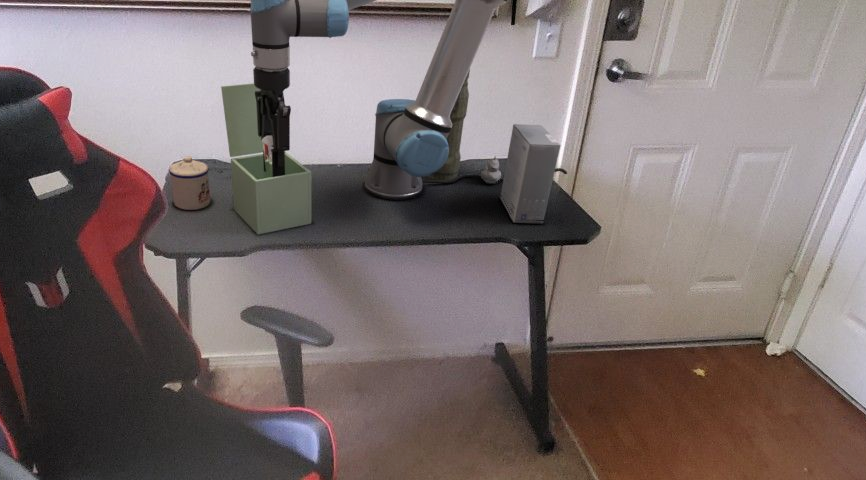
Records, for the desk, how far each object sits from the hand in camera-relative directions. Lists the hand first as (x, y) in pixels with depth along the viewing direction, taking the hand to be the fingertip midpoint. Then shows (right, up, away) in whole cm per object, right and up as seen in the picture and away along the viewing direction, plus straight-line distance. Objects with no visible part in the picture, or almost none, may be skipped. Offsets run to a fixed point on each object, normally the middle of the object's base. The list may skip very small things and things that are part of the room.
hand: (274, 174), depth 151 cm
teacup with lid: (-22, -4, +13) cm, 26 cm away
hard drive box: (+60, -5, +18) cm, 63 cm away
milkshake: (0, 0, 0) cm, 0 cm away
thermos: (+42, +7, +34) cm, 55 cm away
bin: (-2, -8, +8) cm, 12 cm away
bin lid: (-5, +13, +2) cm, 14 cm away
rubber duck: (+55, +5, +33) cm, 64 cm away
